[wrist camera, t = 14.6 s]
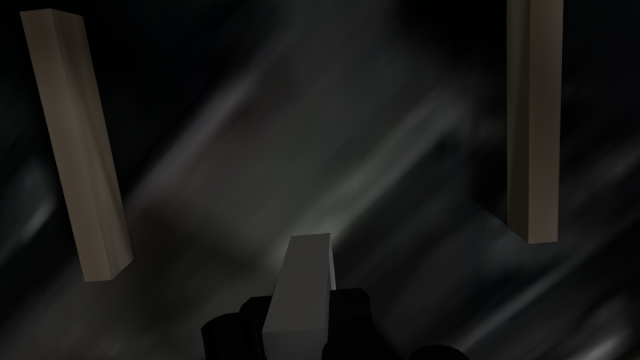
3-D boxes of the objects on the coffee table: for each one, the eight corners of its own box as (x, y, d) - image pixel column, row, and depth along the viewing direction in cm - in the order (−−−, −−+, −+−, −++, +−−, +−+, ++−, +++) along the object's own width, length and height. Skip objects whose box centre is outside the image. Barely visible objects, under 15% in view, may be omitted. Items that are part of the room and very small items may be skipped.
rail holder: (536, -35, 24) (564, -50, 21) (533, 223, 28) (557, 241, 25) (55, 19, 25) (19, 11, 22) (109, 260, 29) (85, 282, 26)
